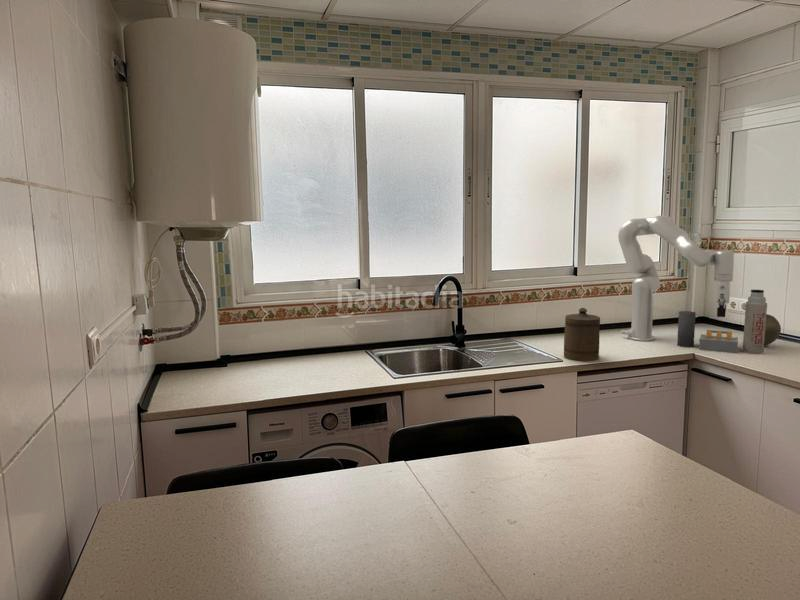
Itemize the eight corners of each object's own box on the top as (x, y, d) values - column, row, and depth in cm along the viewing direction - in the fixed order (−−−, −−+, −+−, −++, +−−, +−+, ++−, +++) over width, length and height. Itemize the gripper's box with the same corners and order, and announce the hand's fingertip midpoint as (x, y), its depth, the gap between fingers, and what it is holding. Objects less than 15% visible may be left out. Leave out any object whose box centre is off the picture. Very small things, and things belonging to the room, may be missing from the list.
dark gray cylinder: (679, 347, 264) (681, 313, 261) (675, 343, 270) (676, 311, 268) (695, 347, 262) (697, 313, 260) (690, 344, 269) (692, 311, 267)
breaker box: (699, 349, 258) (699, 338, 257) (700, 344, 268) (701, 333, 268) (737, 353, 251) (737, 341, 250) (737, 347, 261) (737, 336, 260)
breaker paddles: (706, 337, 261) (706, 330, 260) (706, 335, 262) (707, 329, 261) (731, 339, 256) (731, 332, 255) (731, 337, 257) (732, 331, 256)
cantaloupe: (740, 346, 263) (742, 314, 260) (747, 341, 273) (749, 310, 271) (776, 351, 253) (779, 318, 251) (782, 345, 263) (784, 313, 261)
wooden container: (602, 355, 252) (604, 306, 248) (594, 362, 239) (595, 311, 236) (569, 351, 259) (570, 304, 256) (559, 358, 247) (560, 309, 244)
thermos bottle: (765, 354, 248) (770, 291, 243) (744, 353, 250) (748, 290, 246) (761, 350, 255) (766, 289, 251) (740, 349, 258) (745, 288, 254)
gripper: (732, 280, 245) (730, 318, 248) (732, 276, 260) (731, 312, 262) (712, 279, 249) (711, 317, 252) (714, 275, 264) (712, 311, 266)
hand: (721, 315), depth 257 cm, fingers open, 9 cm apart
